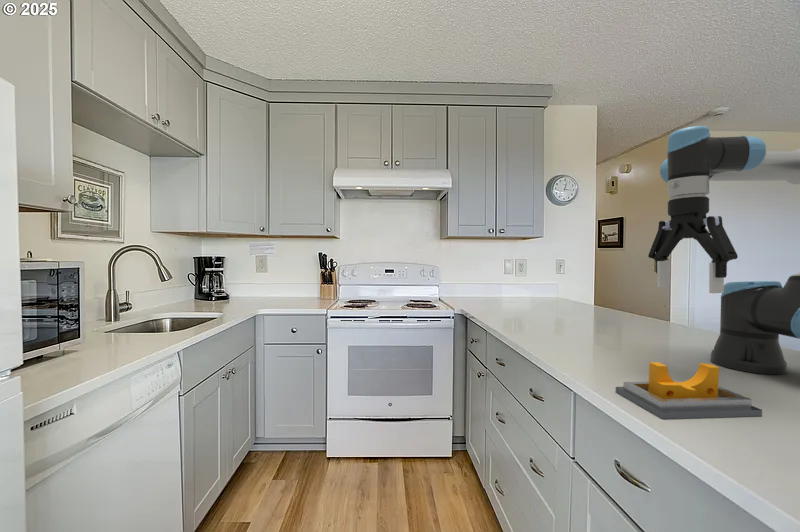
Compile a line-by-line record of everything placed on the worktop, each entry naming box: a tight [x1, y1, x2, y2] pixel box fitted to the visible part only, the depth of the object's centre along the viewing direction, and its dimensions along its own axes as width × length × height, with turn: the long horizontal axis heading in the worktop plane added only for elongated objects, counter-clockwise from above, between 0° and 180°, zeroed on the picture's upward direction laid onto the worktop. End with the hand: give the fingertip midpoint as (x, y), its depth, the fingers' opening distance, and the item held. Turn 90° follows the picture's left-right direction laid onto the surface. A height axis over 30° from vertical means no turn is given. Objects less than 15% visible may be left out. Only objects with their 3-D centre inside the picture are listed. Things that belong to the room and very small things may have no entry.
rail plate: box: [615, 380, 763, 420], centre depth 75 cm, size 20×13×3 cm, turn 95°
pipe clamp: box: [648, 361, 720, 399], centre depth 75 cm, size 12×4×6 cm, turn 87°
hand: (687, 289), depth 86 cm, fingers open, 13 cm apart
